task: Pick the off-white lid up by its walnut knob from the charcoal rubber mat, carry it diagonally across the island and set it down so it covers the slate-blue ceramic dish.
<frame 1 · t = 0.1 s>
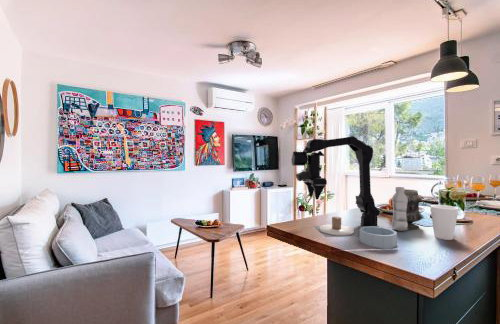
hand: (313, 197, 123), 14 cm above the worktop, fingers open, 9 cm apart
dish: (377, 243, 101), on the worktop
lid: (336, 230, 116), point 1 cm above the worktop, touching mat
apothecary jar: (407, 227, 125), on the worktop
foam cup: (443, 237, 108), on the worktop
mat: (336, 232, 116), on the worktop
plastic bottle: (399, 231, 118), on the worktop
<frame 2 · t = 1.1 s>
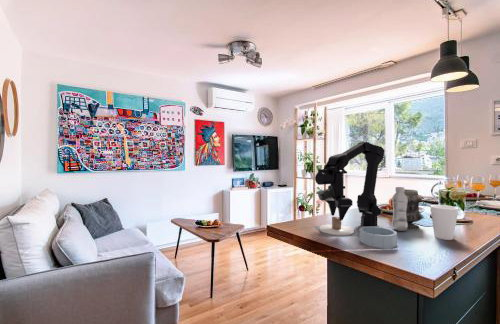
hand: (336, 217, 116), 6 cm above the worktop, fingers open, 9 cm apart
nothing on the worktop moved.
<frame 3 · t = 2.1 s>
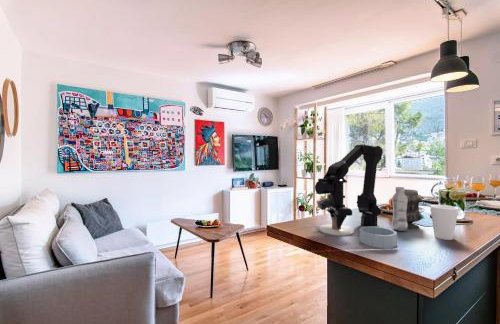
hand: (336, 227, 116), 2 cm above the worktop, fingers closed on lid, 4 cm apart
lid: (336, 230, 116), point 1 cm above the worktop, touching gripper, mat
everything else where it was.
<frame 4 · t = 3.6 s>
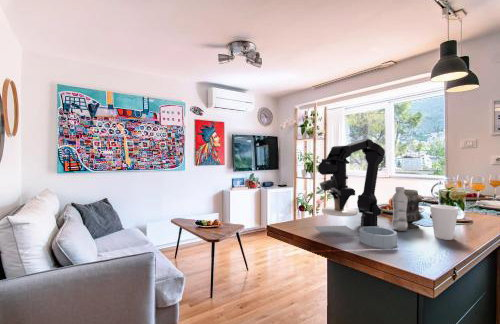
hand: (339, 208, 115), 11 cm above the worktop, fingers closed on lid, 4 cm apart
lid: (339, 212, 115), point 9 cm above the worktop, touching gripper
everything else where it was.
when the fingers open (8 cm above the worktop, at t = 5.4 s): lid drops 1 cm, resting on dish.
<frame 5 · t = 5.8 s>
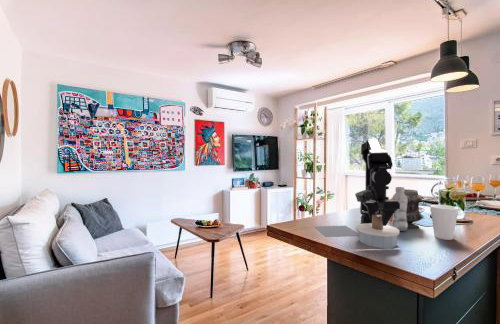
hand: (377, 222, 101), 8 cm above the worktop, fingers open, 8 cm apart
lid: (377, 230, 101), point 5 cm above the worktop, touching dish
everything else where it was.
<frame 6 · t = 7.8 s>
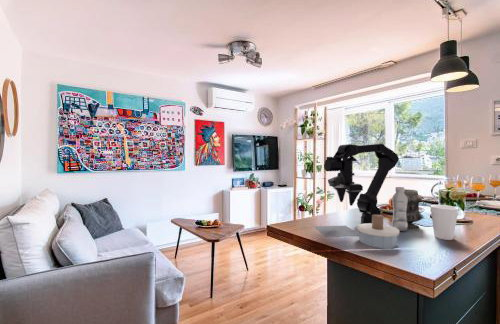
hand: (346, 203, 122), 12 cm above the worktop, fingers open, 9 cm apart
nothing on the worktop moved.
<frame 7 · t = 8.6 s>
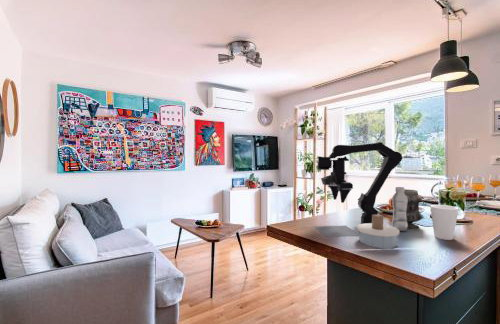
hand: (338, 201, 128), 12 cm above the worktop, fingers open, 9 cm apart
nothing on the worktop moved.
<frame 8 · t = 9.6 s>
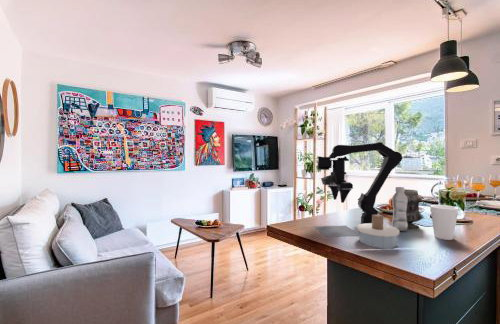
hand: (338, 201, 128), 12 cm above the worktop, fingers open, 9 cm apart
nothing on the worktop moved.
at the end: lid 0.1 cm off-centre on the dish, point 5.0 cm above the dish's base; lid tilted 0°; the gripper is holding nothing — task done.
